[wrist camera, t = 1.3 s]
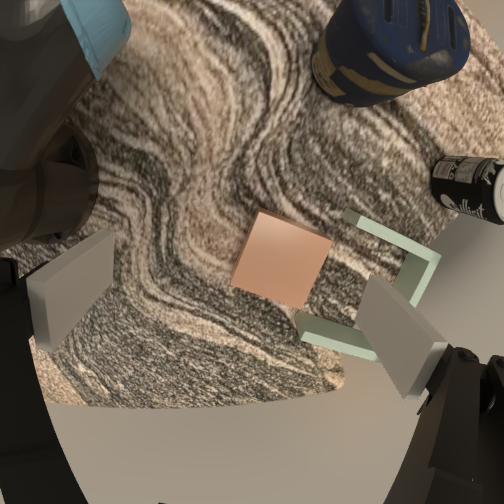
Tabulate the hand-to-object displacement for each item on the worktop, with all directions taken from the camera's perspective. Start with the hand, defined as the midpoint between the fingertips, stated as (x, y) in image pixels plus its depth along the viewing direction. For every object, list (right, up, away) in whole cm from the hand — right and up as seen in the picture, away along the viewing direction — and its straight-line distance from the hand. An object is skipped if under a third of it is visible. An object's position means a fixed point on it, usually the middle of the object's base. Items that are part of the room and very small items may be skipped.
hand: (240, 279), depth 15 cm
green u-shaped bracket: (+13, -2, +21) cm, 25 cm away
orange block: (+3, +1, +20) cm, 21 cm away
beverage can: (+25, +10, +18) cm, 32 cm away
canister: (+11, +21, +14) cm, 28 cm away
